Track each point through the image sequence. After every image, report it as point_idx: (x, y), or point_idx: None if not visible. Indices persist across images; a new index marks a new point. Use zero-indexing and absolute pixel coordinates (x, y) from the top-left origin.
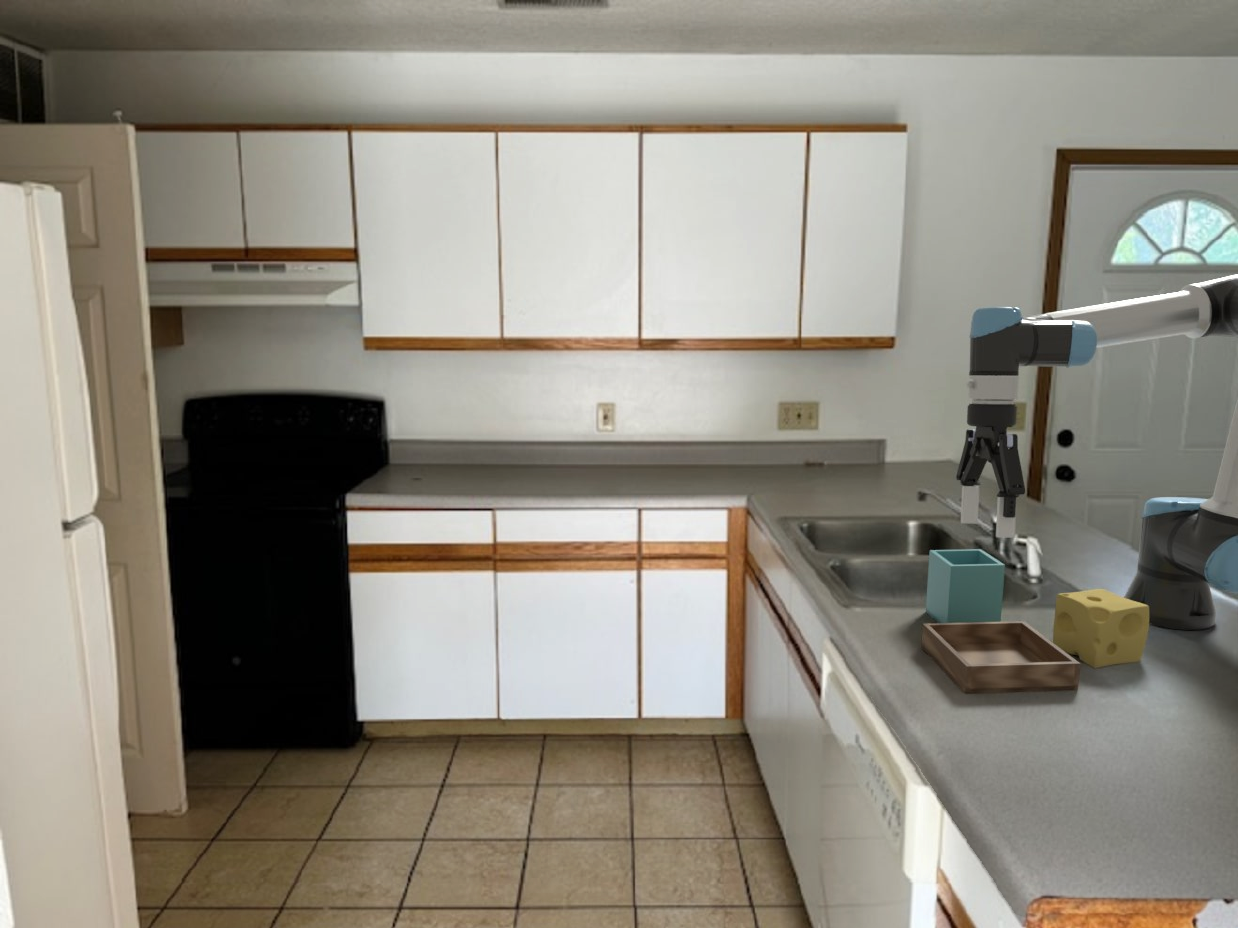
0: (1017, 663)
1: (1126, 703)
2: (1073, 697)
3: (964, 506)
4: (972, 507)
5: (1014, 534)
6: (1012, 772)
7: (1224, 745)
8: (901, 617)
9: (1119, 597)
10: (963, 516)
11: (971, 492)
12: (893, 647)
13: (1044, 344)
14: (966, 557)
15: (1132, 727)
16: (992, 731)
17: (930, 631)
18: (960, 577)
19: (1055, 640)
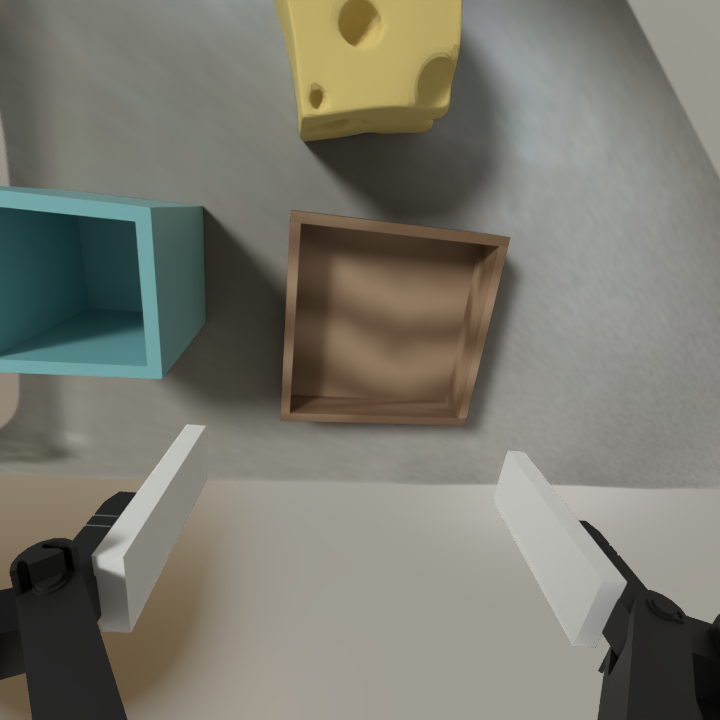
0: (477, 346)
1: (546, 183)
2: None
3: (179, 528)
4: (181, 493)
5: (528, 459)
6: (616, 435)
7: (690, 134)
8: None
9: None
10: (195, 497)
11: (145, 561)
12: (274, 437)
13: None
14: None
15: (602, 233)
16: (543, 416)
17: (317, 420)
18: (170, 338)
19: (310, 139)
